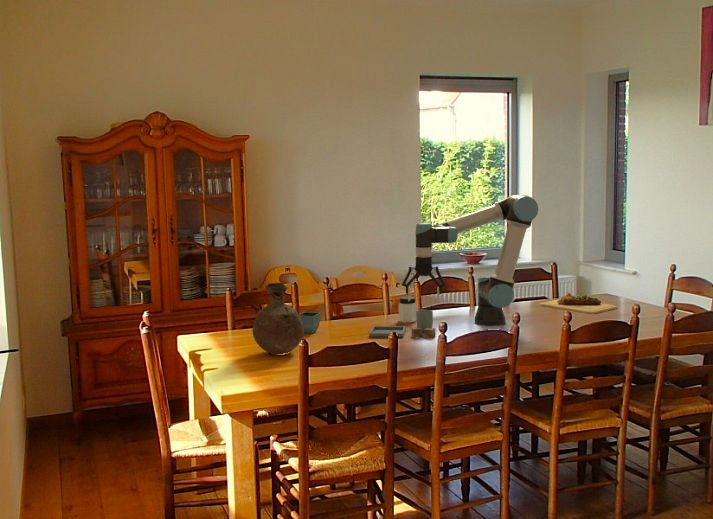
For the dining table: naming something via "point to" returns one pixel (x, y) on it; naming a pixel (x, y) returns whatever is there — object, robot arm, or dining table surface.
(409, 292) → the robot arm
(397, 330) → the tray
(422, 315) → the cup
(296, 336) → the jug
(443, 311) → the dining table surface
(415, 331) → the walnut block
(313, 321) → the flower pot
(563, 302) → the cutting board
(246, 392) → the dining table surface
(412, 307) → the jar
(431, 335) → the walnut block
